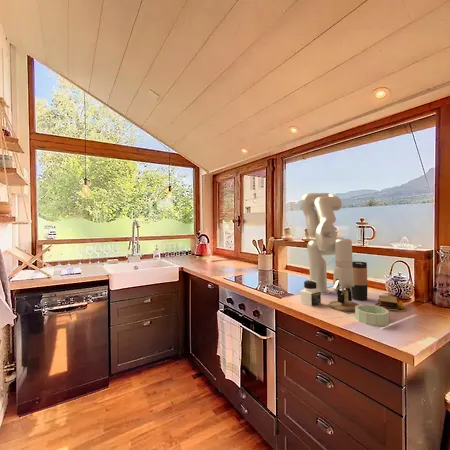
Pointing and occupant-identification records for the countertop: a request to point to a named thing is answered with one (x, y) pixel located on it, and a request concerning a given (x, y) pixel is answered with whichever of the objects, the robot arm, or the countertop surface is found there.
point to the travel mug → (360, 281)
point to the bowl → (372, 315)
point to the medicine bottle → (310, 294)
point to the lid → (344, 304)
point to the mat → (337, 310)
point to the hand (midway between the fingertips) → (344, 301)
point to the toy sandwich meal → (390, 303)
